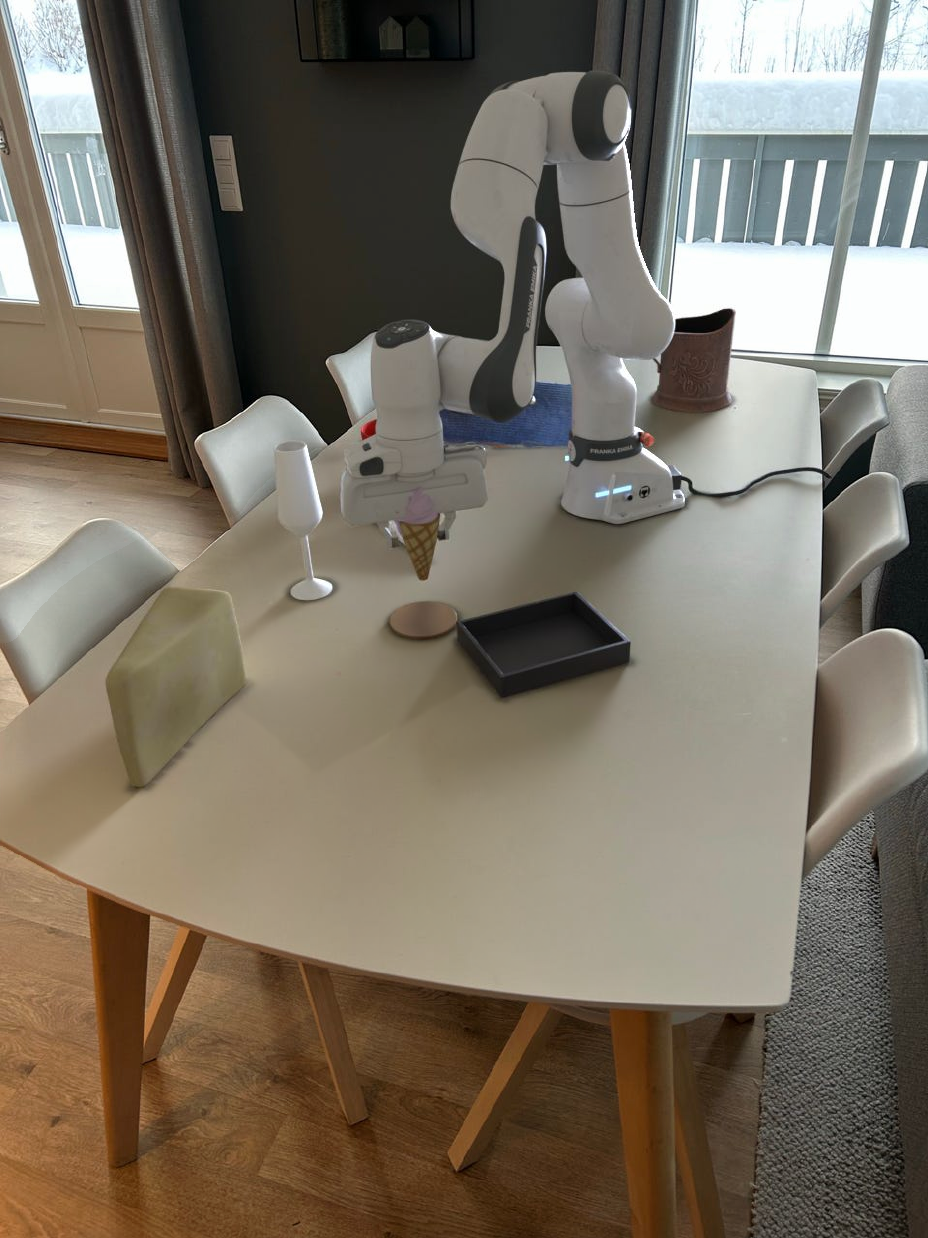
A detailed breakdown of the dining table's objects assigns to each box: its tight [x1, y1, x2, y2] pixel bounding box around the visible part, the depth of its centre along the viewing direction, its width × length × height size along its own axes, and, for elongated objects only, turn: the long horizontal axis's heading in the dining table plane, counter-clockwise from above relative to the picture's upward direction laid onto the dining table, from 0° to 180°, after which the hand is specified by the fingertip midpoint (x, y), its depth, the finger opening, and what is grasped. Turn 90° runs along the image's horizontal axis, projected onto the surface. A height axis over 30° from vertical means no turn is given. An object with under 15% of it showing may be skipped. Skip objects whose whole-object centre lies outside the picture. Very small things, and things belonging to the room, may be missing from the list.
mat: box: [439, 380, 572, 449], centre depth 205 cm, size 45×27×12 cm, turn 82°
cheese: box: [104, 586, 247, 788], centre depth 111 cm, size 22×10×15 cm, turn 168°
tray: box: [456, 590, 632, 699], centre depth 126 cm, size 19×15×3 cm
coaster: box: [389, 600, 458, 640], centre depth 134 cm, size 10×10×1 cm
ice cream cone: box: [393, 486, 441, 582], centre depth 127 cm, size 7×6×15 cm
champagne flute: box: [273, 440, 333, 601], centre depth 138 cm, size 7×7×24 cm
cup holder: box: [651, 307, 737, 413], centre depth 209 cm, size 18×24×25 cm
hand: (417, 542), depth 128 cm, fingers closed on ice cream cone, 6 cm apart
